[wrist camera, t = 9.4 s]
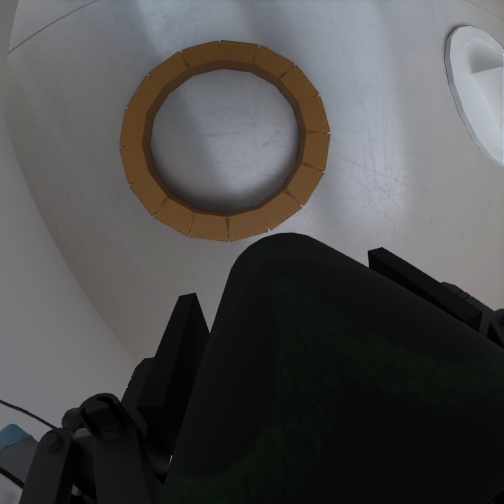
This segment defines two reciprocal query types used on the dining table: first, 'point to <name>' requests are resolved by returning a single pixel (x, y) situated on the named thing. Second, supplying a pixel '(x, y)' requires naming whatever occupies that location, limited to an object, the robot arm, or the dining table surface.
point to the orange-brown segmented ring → (243, 220)
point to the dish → (478, 87)
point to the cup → (337, 391)
